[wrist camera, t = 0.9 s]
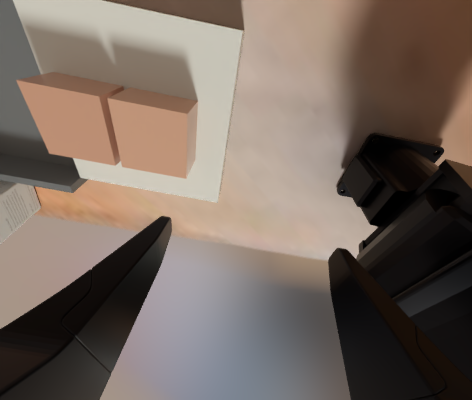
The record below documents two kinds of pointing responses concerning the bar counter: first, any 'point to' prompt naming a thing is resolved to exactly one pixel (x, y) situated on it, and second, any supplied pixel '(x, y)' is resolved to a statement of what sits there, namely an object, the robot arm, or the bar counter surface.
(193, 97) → the plate
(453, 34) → the bar counter surface
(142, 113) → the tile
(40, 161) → the tray
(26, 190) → the skincare box
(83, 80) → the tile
